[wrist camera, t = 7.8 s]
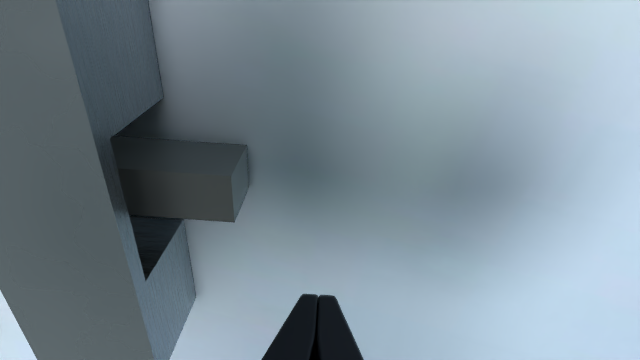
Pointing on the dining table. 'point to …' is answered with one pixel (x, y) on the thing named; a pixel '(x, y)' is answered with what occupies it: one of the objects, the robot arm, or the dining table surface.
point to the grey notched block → (82, 185)
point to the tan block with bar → (181, 178)
